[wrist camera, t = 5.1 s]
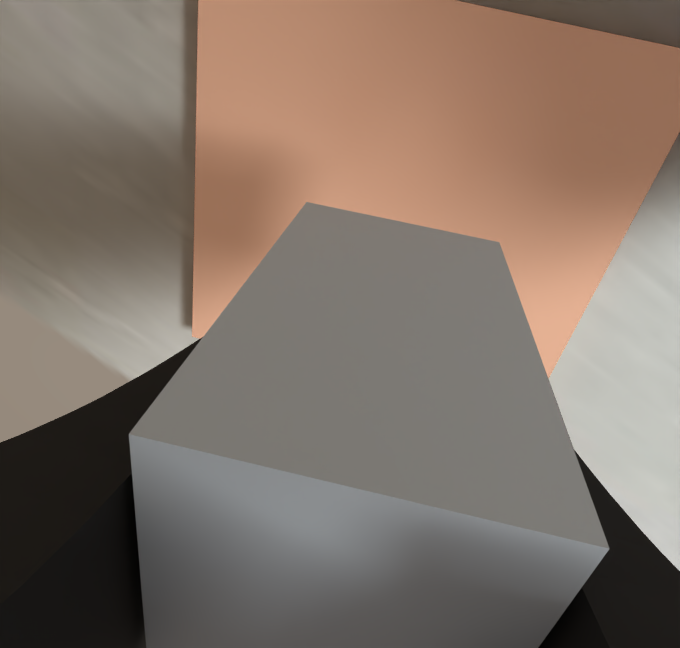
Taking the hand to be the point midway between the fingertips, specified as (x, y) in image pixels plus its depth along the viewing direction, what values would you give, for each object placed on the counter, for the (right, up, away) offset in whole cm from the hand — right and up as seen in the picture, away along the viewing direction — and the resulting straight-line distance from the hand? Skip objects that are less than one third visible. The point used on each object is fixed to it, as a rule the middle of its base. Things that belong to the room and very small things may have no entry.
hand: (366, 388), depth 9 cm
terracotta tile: (+1, +5, +8) cm, 9 cm away
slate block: (0, +2, +2) cm, 2 cm away
